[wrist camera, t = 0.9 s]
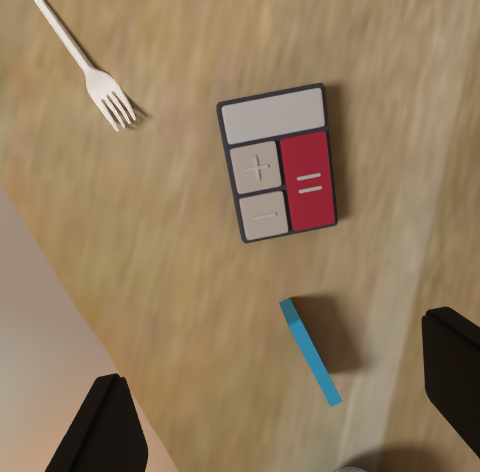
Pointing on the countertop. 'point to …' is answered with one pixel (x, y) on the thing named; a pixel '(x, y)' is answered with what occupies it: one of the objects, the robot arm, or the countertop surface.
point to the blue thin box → (310, 352)
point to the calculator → (279, 162)
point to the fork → (91, 73)
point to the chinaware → (351, 469)
